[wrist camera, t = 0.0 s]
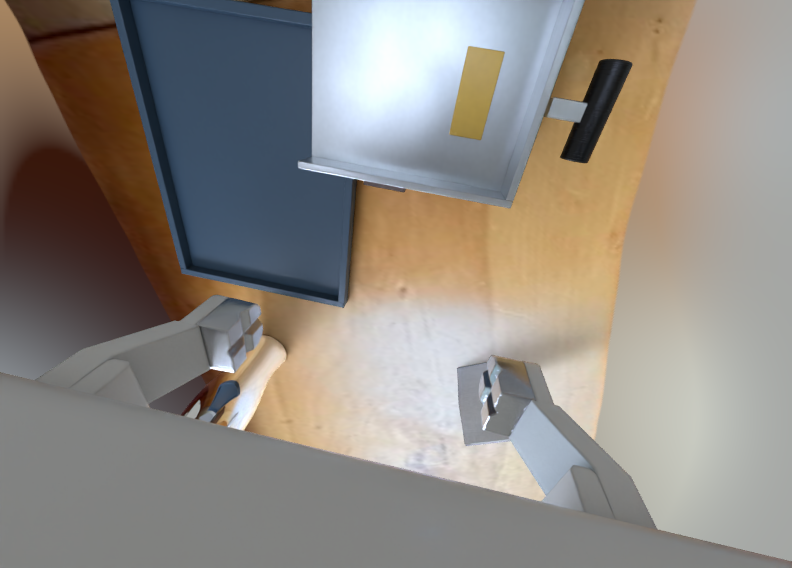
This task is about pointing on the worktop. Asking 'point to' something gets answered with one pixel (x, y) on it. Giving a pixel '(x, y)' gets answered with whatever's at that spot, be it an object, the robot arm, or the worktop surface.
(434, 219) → the worktop surface
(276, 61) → the tray
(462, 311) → the worktop surface
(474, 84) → the yellow block
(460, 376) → the grey boxy piece
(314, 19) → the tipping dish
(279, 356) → the silver metal vase
